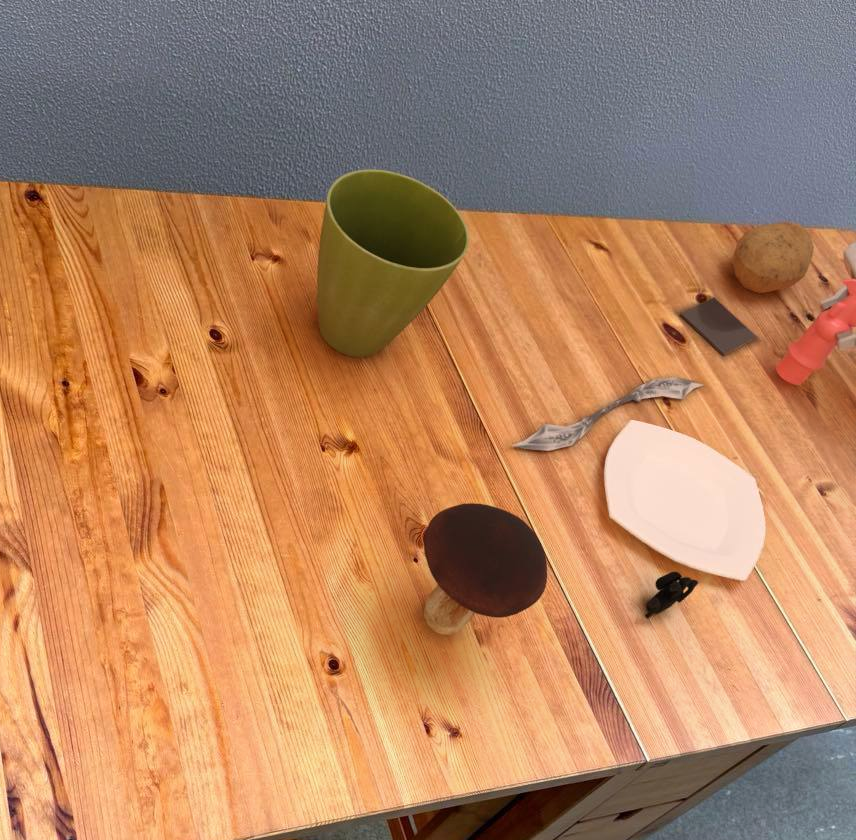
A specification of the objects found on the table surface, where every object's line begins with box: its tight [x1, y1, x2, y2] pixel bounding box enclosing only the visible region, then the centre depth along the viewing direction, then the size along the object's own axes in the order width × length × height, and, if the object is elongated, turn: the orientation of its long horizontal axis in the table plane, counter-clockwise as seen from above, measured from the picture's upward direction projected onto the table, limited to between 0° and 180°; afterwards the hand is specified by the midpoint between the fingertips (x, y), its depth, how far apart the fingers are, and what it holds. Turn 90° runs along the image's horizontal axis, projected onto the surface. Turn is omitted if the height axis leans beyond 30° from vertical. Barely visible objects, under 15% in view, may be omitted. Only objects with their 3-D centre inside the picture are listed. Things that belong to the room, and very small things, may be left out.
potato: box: [733, 221, 815, 294], centre depth 135 cm, size 10×14×8 cm
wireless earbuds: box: [644, 571, 699, 619], centre depth 96 cm, size 7×2×5 cm, turn 121°
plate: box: [603, 419, 767, 582], centre depth 107 cm, size 19×19×2 cm
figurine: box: [775, 278, 856, 386], centre depth 120 cm, size 5×5×15 cm
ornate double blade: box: [511, 376, 704, 451], centre depth 113 cm, size 32×1×5 cm
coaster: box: [679, 297, 758, 357], centre depth 129 cm, size 8×8×1 cm
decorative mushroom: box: [423, 502, 548, 636], centre depth 84 cm, size 11×11×15 cm
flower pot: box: [316, 168, 470, 359], centre depth 103 cm, size 15×15×16 cm
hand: (829, 327), depth 119 cm, fingers closed on figurine, 4 cm apart
